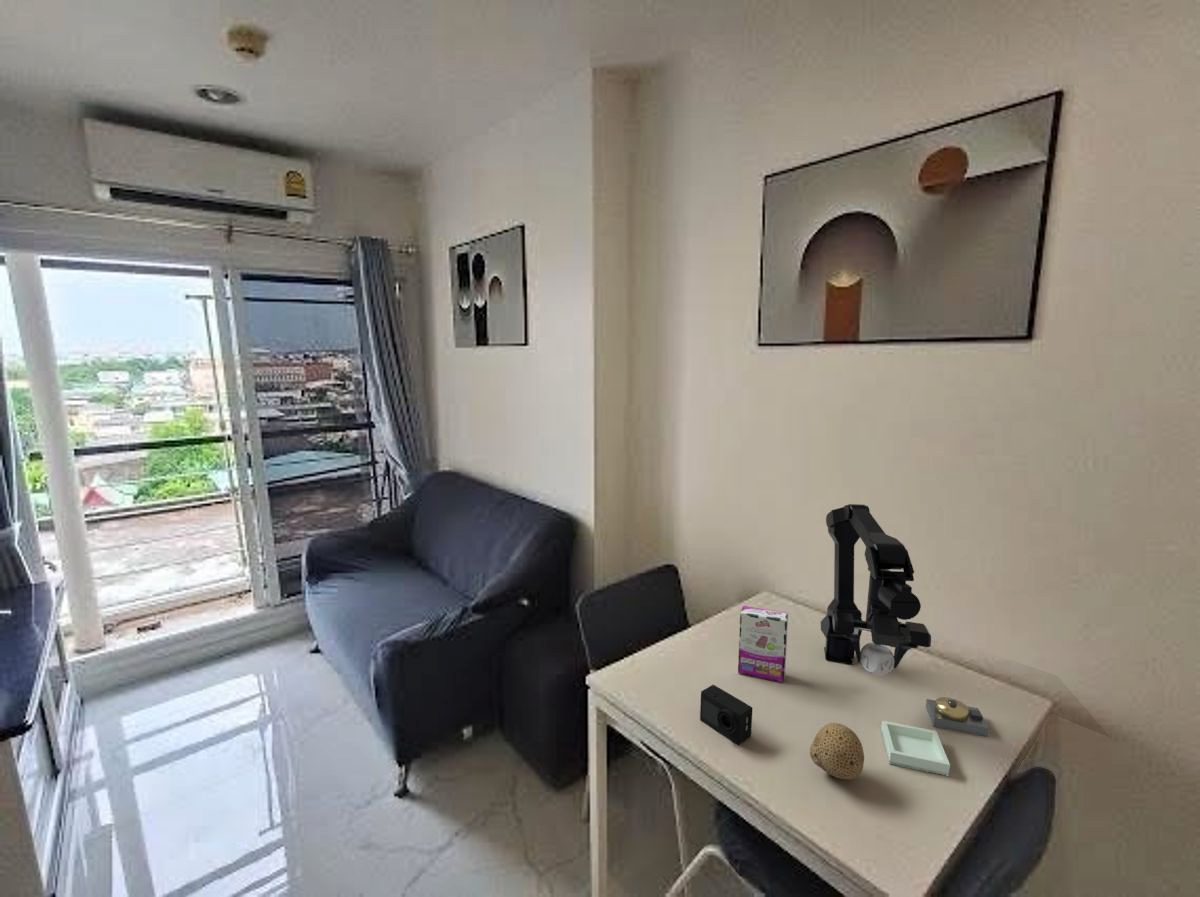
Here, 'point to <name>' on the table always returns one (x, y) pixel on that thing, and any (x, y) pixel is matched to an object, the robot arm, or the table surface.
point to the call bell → (956, 716)
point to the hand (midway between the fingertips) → (876, 664)
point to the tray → (914, 748)
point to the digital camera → (726, 714)
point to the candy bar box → (763, 643)
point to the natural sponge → (838, 751)
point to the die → (877, 659)
